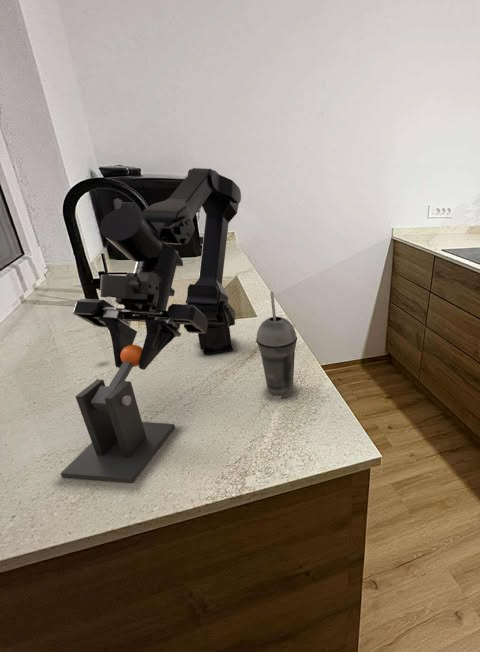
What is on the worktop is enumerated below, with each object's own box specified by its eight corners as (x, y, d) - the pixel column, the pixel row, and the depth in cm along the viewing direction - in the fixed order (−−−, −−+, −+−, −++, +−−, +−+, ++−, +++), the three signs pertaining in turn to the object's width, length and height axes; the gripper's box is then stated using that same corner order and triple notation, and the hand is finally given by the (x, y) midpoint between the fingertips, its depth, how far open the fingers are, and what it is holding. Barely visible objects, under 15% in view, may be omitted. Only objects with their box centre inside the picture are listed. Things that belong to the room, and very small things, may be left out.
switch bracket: (117, 426, 64) (97, 365, 59) (176, 431, 64) (161, 369, 58) (63, 481, 53) (33, 411, 48) (133, 486, 53) (111, 417, 48)
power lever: (132, 353, 62) (122, 339, 59) (153, 355, 61) (144, 340, 59) (96, 413, 54) (83, 400, 52) (119, 415, 54) (108, 401, 52)
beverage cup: (267, 407, 71) (257, 303, 61) (257, 387, 76) (247, 290, 67) (304, 397, 74) (301, 298, 64) (292, 379, 79) (287, 285, 70)
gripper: (61, 246, 56) (26, 348, 51) (187, 252, 55) (163, 356, 51) (110, 282, 67) (84, 369, 62) (216, 288, 66) (198, 377, 61)
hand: (130, 368), depth 59 cm, fingers closed on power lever, 3 cm apart
